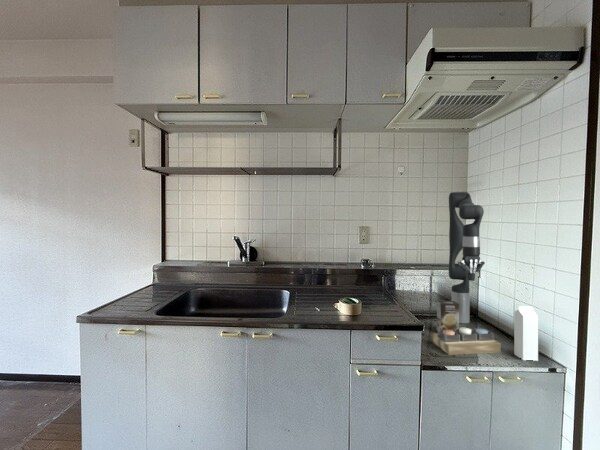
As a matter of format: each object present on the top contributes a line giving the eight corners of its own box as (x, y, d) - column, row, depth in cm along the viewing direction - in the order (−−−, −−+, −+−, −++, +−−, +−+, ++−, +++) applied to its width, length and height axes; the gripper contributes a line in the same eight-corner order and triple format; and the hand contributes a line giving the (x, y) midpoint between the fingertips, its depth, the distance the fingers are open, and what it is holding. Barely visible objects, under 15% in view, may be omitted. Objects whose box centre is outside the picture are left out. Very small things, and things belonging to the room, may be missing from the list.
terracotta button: (440, 335, 141) (440, 330, 141) (450, 334, 142) (450, 329, 142) (446, 339, 136) (446, 334, 136) (456, 339, 137) (456, 333, 137)
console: (432, 341, 146) (432, 327, 146) (479, 339, 147) (479, 325, 147) (448, 354, 132) (448, 338, 132) (500, 352, 133) (500, 336, 133)
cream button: (456, 332, 142) (456, 327, 142) (467, 332, 142) (466, 327, 142) (463, 336, 137) (463, 331, 137) (473, 336, 137) (473, 331, 137)
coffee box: (440, 334, 155) (440, 303, 155) (436, 329, 161) (436, 300, 161) (459, 334, 154) (459, 303, 154) (454, 330, 160) (454, 300, 160)
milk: (514, 354, 132) (513, 304, 131) (528, 354, 131) (528, 304, 131) (523, 360, 126) (522, 308, 125) (538, 361, 125) (538, 308, 125)
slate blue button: (473, 334, 142) (473, 328, 142) (483, 333, 143) (483, 328, 143) (480, 338, 137) (480, 332, 137) (490, 337, 138) (490, 332, 138)
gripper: (478, 244, 153) (479, 278, 153) (453, 245, 152) (454, 279, 152) (489, 246, 145) (489, 281, 145) (462, 246, 144) (463, 282, 144)
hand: (471, 280), depth 149 cm, fingers closed
